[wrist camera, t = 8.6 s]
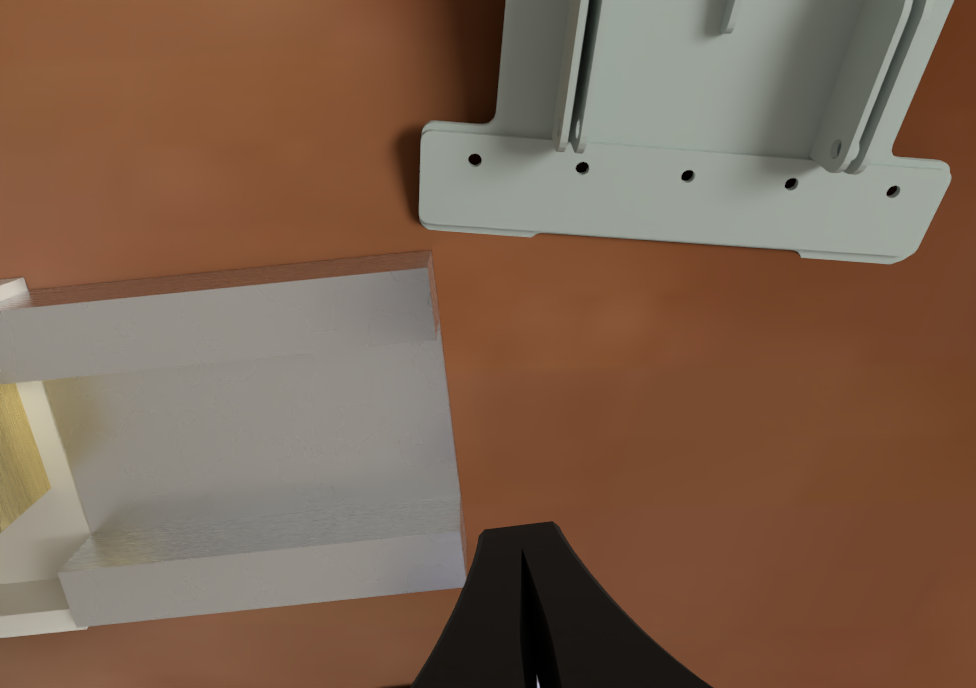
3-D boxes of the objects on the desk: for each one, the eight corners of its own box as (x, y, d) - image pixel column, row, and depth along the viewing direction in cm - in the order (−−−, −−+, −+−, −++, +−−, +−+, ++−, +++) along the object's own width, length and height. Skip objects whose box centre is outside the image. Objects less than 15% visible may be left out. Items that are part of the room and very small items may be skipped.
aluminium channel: (466, 537, 23) (466, 586, 21) (117, 573, 23) (76, 627, 21) (431, 249, 20) (427, 267, 18) (27, 290, 20) (-33, 313, 18)
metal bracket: (431, -475, 11) (1286, -364, 12) (444, -368, 16) (1053, -294, 17) (413, 290, 19) (923, 322, 20) (425, 207, 24) (836, 236, 25)
